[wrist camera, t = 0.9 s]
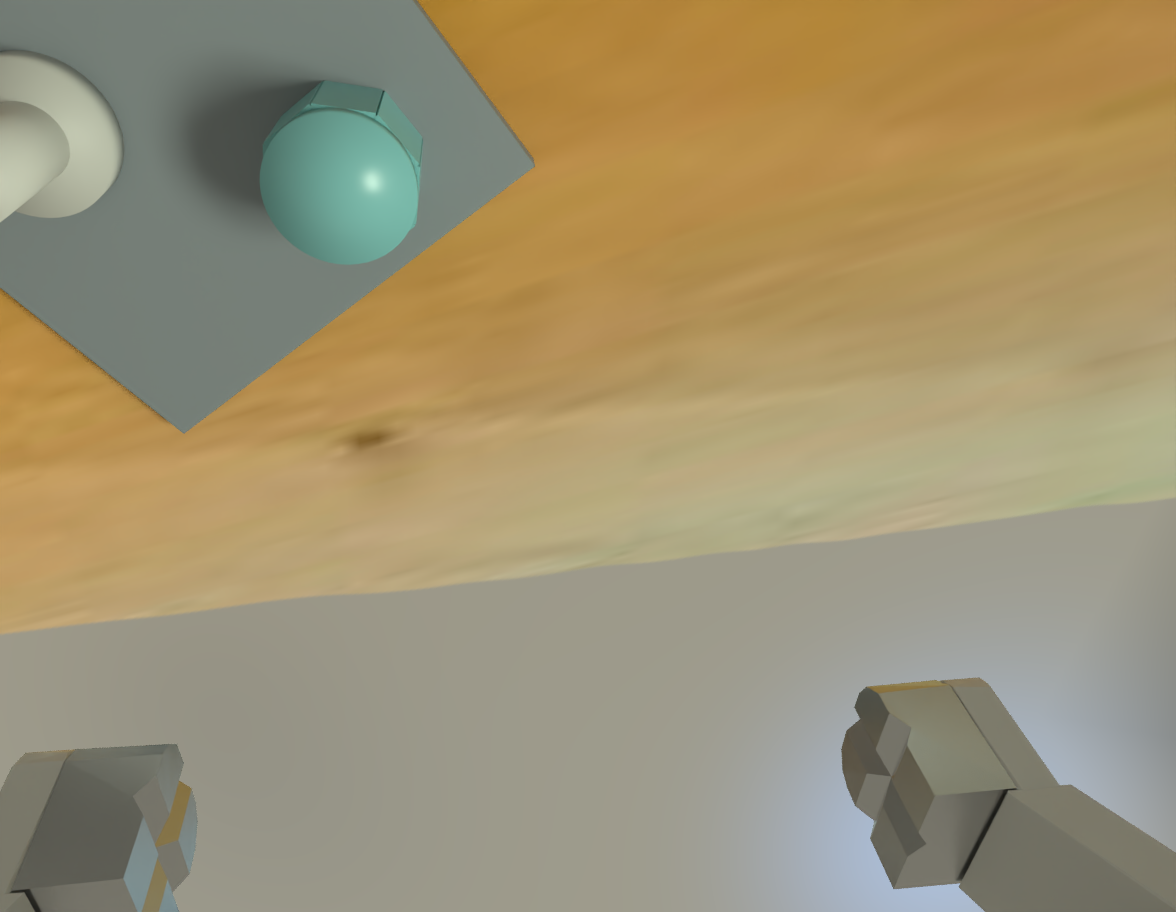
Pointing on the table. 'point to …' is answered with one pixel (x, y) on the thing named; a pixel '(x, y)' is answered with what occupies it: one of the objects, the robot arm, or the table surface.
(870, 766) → the robot arm
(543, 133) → the table surface
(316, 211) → the cap
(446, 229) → the post board
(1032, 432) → the table surface
